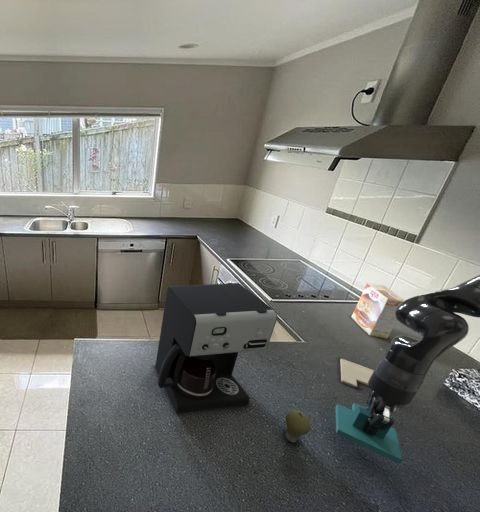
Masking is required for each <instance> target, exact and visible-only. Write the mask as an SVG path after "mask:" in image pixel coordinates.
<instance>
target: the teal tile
mask: <svg viewBox="0 0 480 512" xmlns="http://www.w3.org/2000/svg"><path fill="white" fill-rule="evenodd" d="M369 415H370V412H369V410H367V409H366V407H365V406H363V405H360V404H359V403H355V402H353V403H352V405H351V409H350V408H348V407H346V406H343V405H342V404H339V403H337V404H336V405H335V433H336V434H337V435H338V436H340V437H343V438H345V439H347V440H349V441H351V442H352V443H353V442H354V443H355V444H358V445H360V446H362V447H364V448H366V449H367V450H370V451H372V452H374V453H376V454H379V455H380V456H382V457H385V458H386V459H389V460H391V461H392V462H395V463H397V464H399V465H401V463H402V462H403V456H402V455H403V454H402V451H401V448H400V443H399V439H398V435H397V431H396V428H394V427H392V426H390V427H389V428H387V429H386V430H384V431H383V430H380V429H378V430H377V432H376V434H375V435H374V436H373V435H370V434H368V433H366V432H364V431H363V427H364V425H365V423H366V422H367V420H368V417H369Z"/></svg>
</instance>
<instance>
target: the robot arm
mask: <svg viewBox="0 0 480 512" xmlns="http://www.w3.org/2000/svg"><path fill="white" fill-rule="evenodd" d="M404 300H405V301H403V302H402V303H401V304H400V305H399V306H398V307H397V308H396V310H395V317H396V319H397V321H398V322H399V323H400V324H402V325H403V326H405V327H407V328H408V329H410V330H412V331H413V332H415V333H416V334H418V335H420V336H421V337H420V339H418V338H416V337H413V336H408V335H396V336H395V337H394V338H393V339H392V340H391V341H390V343H389V345H388V347H387V348H386V349H385V350H386V351H385V353H384V354H383V355H382V357H381V358H380V359H379V360H378V362H377V364H376V366H375V368H374V369H373V370H374V372H373V374H372V375H371V377H370V379H369V381H368V385H369V386H368V387H369V388H370V390H369V394H368V397H367V400H366V405H367V406H366V407H365V408H366V409H367V410H369V412H370V415H369V417H368V420H367V422H366V423H365V425H364V427H363V431H364V432H366V433H368V434H370V435H373V436H374V435H375V434H376V432H377V430H378V429H380V430H383V431H384V430H386V429H387V428H389V427H390V426H391V427H392V426H394V424H395V419H393V418H391V417H392V415H393V414H394V413H395V412H396V411H397V406H398V405H399V406H406V405H410V404H411V402H412V401H413V399H414V398H415V396H416V394H417V393H418V392H419V390H420V388H421V386H422V385H423V384H424V381H425V380H426V375H428V374H427V373H428V372H429V370H430V368H431V367H432V365H433V364H434V362H435V361H436V360H437V359H438V358H439V357H441V356H442V355H443V354H444V353H446V352H447V351H448V350H449V349H452V347H454V346H456V345H457V344H459V343H460V342H462V341H463V340H464V339H465V338H466V337H467V336H468V334H469V329H470V328H469V323H468V321H467V320H466V318H464V317H462V316H461V315H465V316H468V317H472V318H480V274H478V275H476V276H474V277H471V278H469V279H467V280H465V281H463V282H462V283H459V284H457V285H455V286H453V287H448V288H444V289H440V290H439V289H438V290H435V291H431V292H427V293H423V294H419V295H415V296H411V297H409V298H407V299H404Z"/></svg>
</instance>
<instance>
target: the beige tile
mask: <svg viewBox="0 0 480 512" xmlns="http://www.w3.org/2000/svg"><path fill="white" fill-rule="evenodd" d="M339 362H340V381H341V383H342V384H345V385H348V386H350V387H352V388H355V389H357V388H358V383H360V384H362V385H365V386H367V387H369V385H368V381H369V379H370V377H371V375H372V374H373V372H374V370H375V369H372V368H368V367H367V366H363V365H360V364H358V363H355V362H352V361H350V360H347V359H344V358H340V361H339Z"/></svg>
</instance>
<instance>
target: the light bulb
mask: <svg viewBox="0 0 480 512" xmlns="http://www.w3.org/2000/svg"><path fill="white" fill-rule="evenodd" d="M285 425H286V434H285V438H286V440H288V441H289V442H291V443H297V440H298V439H299V438H301V436H304V435H307V434H308V433H309V432H310V431H311V428H312V423H311V421H310V418H309V417H308V416H307V415H306V414H305V413H304V412H302V411H299V410H294V409H293V410H290V411H287V413H286V415H285Z"/></svg>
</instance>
